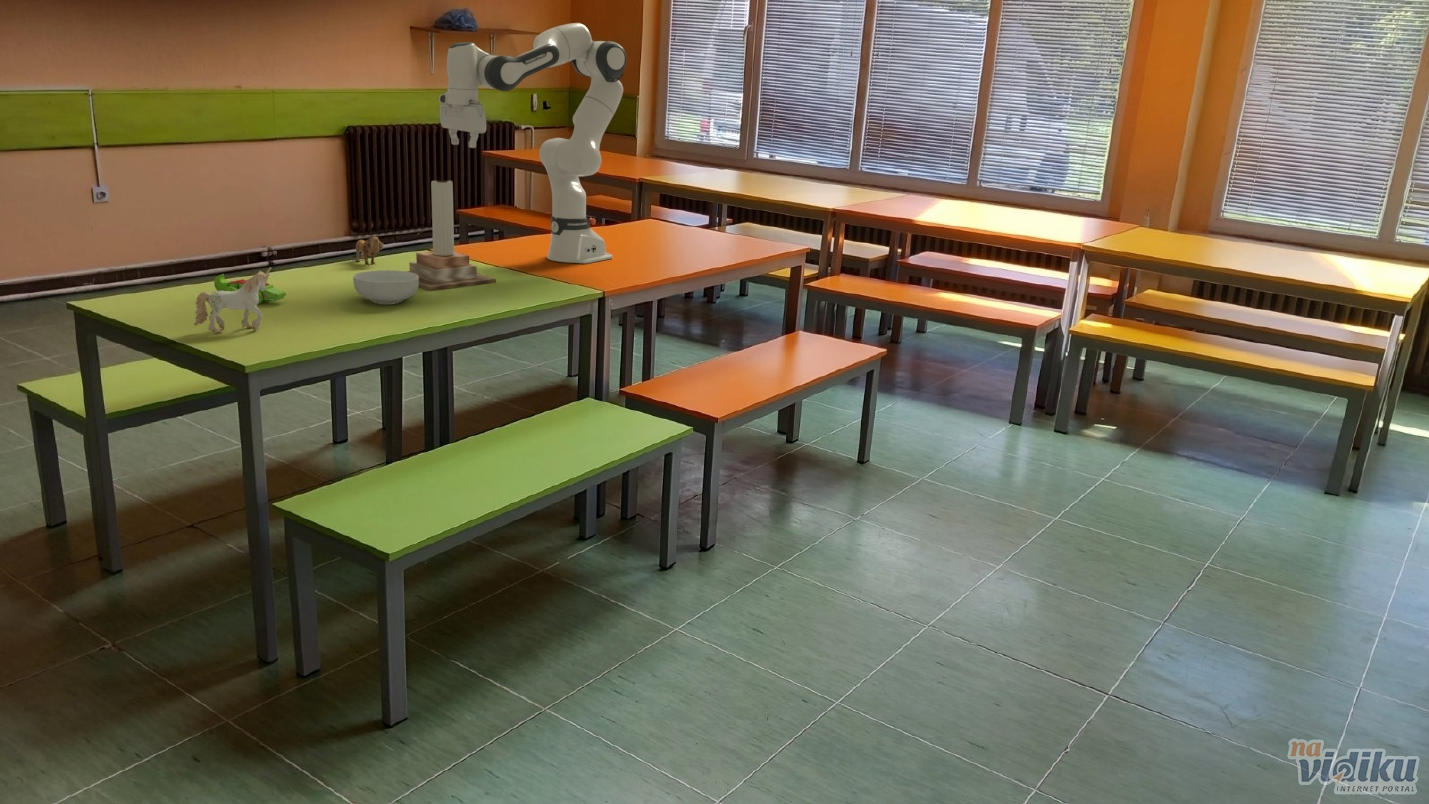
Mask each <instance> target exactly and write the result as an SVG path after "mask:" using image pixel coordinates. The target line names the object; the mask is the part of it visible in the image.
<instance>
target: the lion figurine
mask: <svg viewBox="0 0 1429 804" xmlns="http://www.w3.org/2000/svg"><path fill="white" fill-rule="evenodd" d="M384 245H385V244H384V242H381V241H380V239H379V237H377V236H372V237H369V238H368V239H365V240H363V239H359V240H357V242H356V244H355V250H356V252H355V253H356V254H355V255H353V256H352V258H354V259H355V262H356V261H357V262H356V263H360V260H362V261H364V266H365V265H368V266H369V265H370V264H371V265H373V264H375V263H376V262H375V257H376V256H377V253H379V251H380V250H383V247H384ZM359 257H360V258H359ZM369 257H370V264H369V260H368V258H369ZM375 265H376V264H375Z"/></svg>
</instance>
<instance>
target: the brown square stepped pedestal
mask: <svg viewBox="0 0 1429 804" xmlns="http://www.w3.org/2000/svg"><path fill="white" fill-rule="evenodd" d="M415 255H416V257H415V258H416V259H415V261H413V262H412V261H410V262H409V270H406V271H405V272H411V273H414V274H417V275H418V276H419V286H418V288H422V289H423V290H424V289H425V290H428V291H439V290H445V289H455V288H461V287H462V288H463V287H469V286H477V285H485V284H492V283H493V284H494V283H497V279H496V278H494V277H491V276H488V275H486V274H482V273H479V272H477V269H478V268H477V267H478V266H477V265H474V264H471V263H470V255H467V254H464V253H461V252H457V251H455V250H454V255H450V256H439V255H434V254H433V250H432V251H422V252H421V251H419V252H416V254H415Z"/></svg>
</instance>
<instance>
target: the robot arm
mask: <svg viewBox="0 0 1429 804" xmlns="http://www.w3.org/2000/svg"><path fill="white" fill-rule="evenodd" d="M532 45H533V46H532V47H533V49H532V50H531V49H530V50H529V51H526V52H524V53H522V54H519V55H517V56H509V55H492V54H490V53H488V52H486V51H484V50H483V49H481V48H479V47H478V46H477V45H476V44H475V43H474V42H471V41H464V42H463V41H462V42H455V43H453V44H451V45H450V46H449V47H448V50H447V55H446V57H447V59H446V73H447V77H448V83H447V91H446V92H444V93H442V94H440V95H439V96H438V102H439V104H440V106H439V119H440V120H439V122H440V125H441V127H442V128H444V129H448V134H449V137H450V139H451V143H450V144H452V145H454V146H455V145H457V146H458V145H459V144H460V138H458V135H457V133H458V131H462V132H468V133H469V136H470V139H469V141H468V143H467V144H468V147H469V148H471V149H474V148H475V149H476V147H477V141H478V138H479V134H485V133H486V131H487V127H488V126H487V119H486V118H487V117H486V111H485V109H484V106H483V104H482V103H481V101H479V98H478V97H479V92H478V91H479V89H478V87H479V86H480V87H482V88H485V89H486V88H487V89H492V90H497V91H501V92H510V91H512V90H514V89H515V88H516V87H517V86H518V85H519V84H520V83H521V82H522V81H523V80H524V79H525V78H527V77H529V76H531V75H533V74H536V73H538V72H541V71H543V70H545V69H547V68H553V67H559V66H561V65H564V64H567V63H569V62H571V64H572V65H571V66H572V67H573V69H574V70H575V72H576V73H578V74H579V75H580V76H584V77H586V78H590V79H591V81H590V86H589V87H588V90H587V92H586V93H585V95H584V97H583V98H582V100H581V102H580V103H579V105H578V107H577V109H576V110H575V113H574V114H573V116H572V122H573V125H574V128H573V132H572V135H571V137H570V138H562V137H553V138H550V139H546V140H545V141H544V142H543V143H542V144H541V146H540V147H539V153H538V155H539V159H540V162H541V164H542V165H543V166H544V168H545V170H546V172H547V176H548V179H549V183H550V188H551V189H550V190H551V198H552V199H551V201H552V203H551V204H552V206H551V207H552V209H551V211H552V212H551V213H552V215H551V217H550V231H551V233H550V234H551V236H550V244H549V248H548V249H549V250H548V254H547V256H546V259H547V260H550V261H553V262H559V263H574V264H575V263H576V264H590V263H594V262H599V261H600V262H601V261H605V260H606V261H607V260H611V259H613V255H612V254H611V253H609V252H607V251H606V243H605V240H604V239H603V237H601V236H600V235H599V234H598V233H597V232H595V230H593V229H592V228H591V226H590V225H592V226H593V225H596V222H597V220H596V219H595V218H592V217H589V218H588V216H587V193H586V191H585V189H584V188H583V186H582V184H581V182H580V177H588V176H593V175H594V174H596V173H597V172H598V171H599V170H600V168H601V165H602V155H601V151H600V147H601V142H602V138H603V136H604V134H605V132H606V130H607V128H608V126H609V124H610V123H611V120H612V119H613V117H614V115H615V114H616V111H617V109H618V107H619V105H620V104H621V103H620V102H621V100H622V97H623V93H624V87H623V84H622V82H621V81H620V80H621V79H622V77H624V71H625V68H626V65H627V52H626V50H625V48H624V46H622V45H620V43H617V42H615V41H611V40H607V41H604V40H598V41H595V40H593V39H592V35H591V32H590V31H589V29H588V27H586V25H584V24H582V23H581V22H573V23H565V24H562V25H558V26H555V27H551V28H550V29H547V30H545V31H543V32H541V33H540V34H538V35H536V36H535V38H534V41H533V44H532Z"/></svg>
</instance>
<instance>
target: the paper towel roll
mask: <svg viewBox="0 0 1429 804" xmlns="http://www.w3.org/2000/svg"><path fill="white" fill-rule="evenodd" d="M430 183H431V185H430V187H431V188H430V189H431V218H432V219H431V220H432V226H431V227H432V251H433V254H434V255H439V256H450V255H454V251H455V237H454V236H455V235H454V232H455V231H454V228H455V227H454V223H455V222H454V190H453V188H454V187H453V186H454V184H453V181H452V180H450V179H449V180H442V179H441V180H439V179H438V180H432V181H431V182H430Z"/></svg>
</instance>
